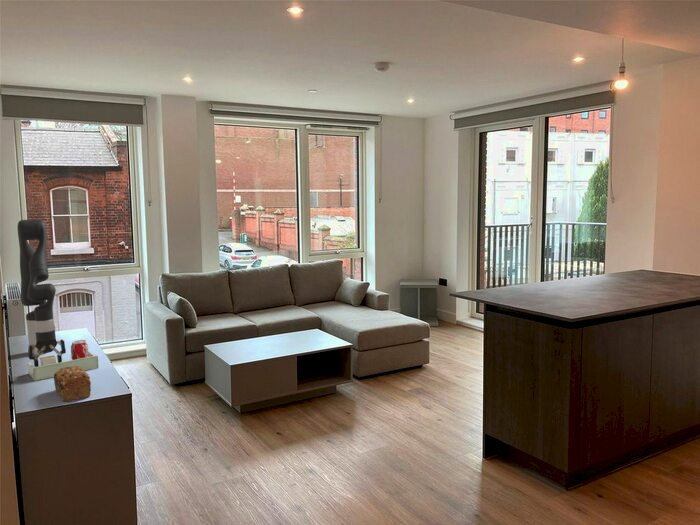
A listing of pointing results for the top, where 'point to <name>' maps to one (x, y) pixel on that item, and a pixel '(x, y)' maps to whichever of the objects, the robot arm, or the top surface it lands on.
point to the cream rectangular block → (47, 360)
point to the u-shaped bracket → (50, 369)
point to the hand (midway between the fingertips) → (48, 365)
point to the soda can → (79, 349)
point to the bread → (72, 383)
